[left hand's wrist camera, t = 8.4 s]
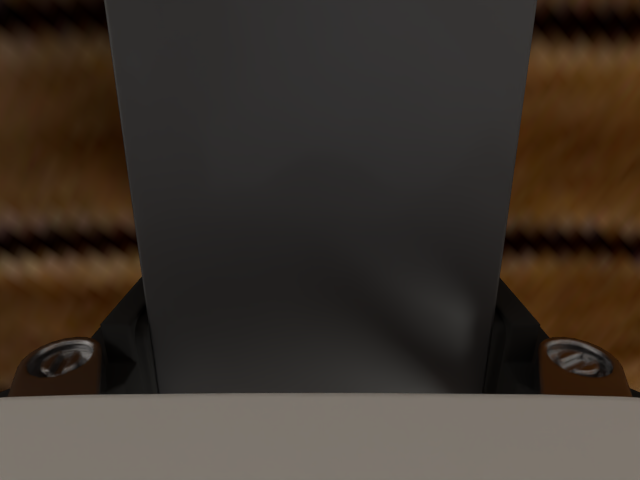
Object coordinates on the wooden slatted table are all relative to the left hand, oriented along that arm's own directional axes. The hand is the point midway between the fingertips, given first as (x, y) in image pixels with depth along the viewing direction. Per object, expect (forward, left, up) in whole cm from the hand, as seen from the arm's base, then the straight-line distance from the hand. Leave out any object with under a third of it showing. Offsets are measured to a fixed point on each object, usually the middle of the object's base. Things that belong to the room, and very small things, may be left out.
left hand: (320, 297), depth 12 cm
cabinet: (+6, +2, -7) cm, 9 cm away
